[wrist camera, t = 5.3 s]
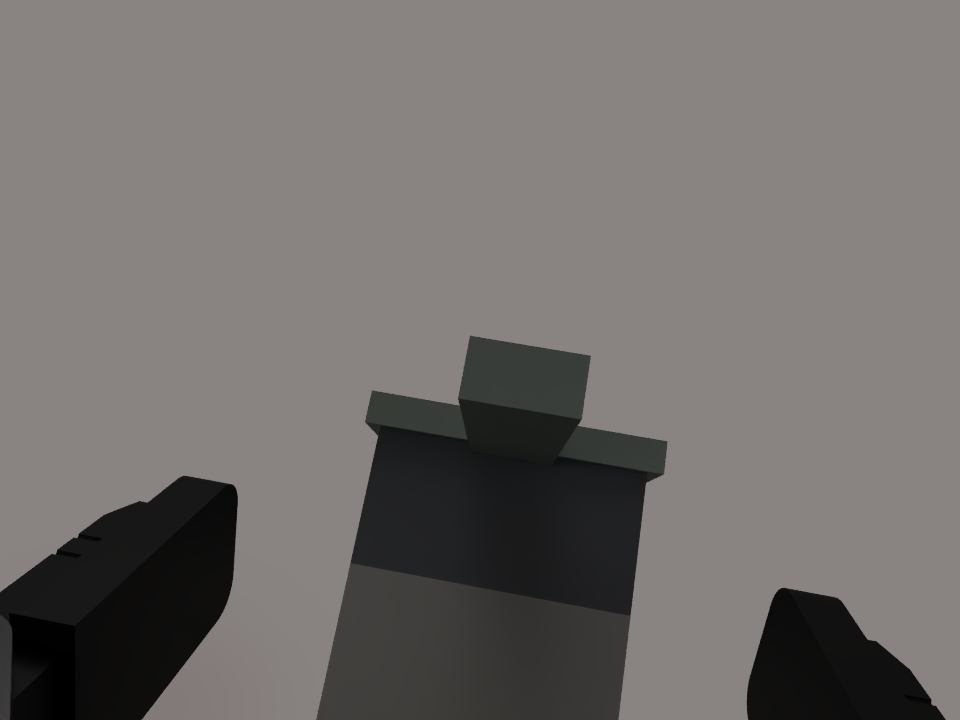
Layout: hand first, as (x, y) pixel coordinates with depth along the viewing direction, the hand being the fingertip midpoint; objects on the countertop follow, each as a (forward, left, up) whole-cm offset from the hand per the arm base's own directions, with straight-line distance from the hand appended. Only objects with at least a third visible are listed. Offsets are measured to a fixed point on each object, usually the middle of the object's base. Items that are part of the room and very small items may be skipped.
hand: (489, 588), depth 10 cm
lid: (+8, +14, +4) cm, 16 cm away
